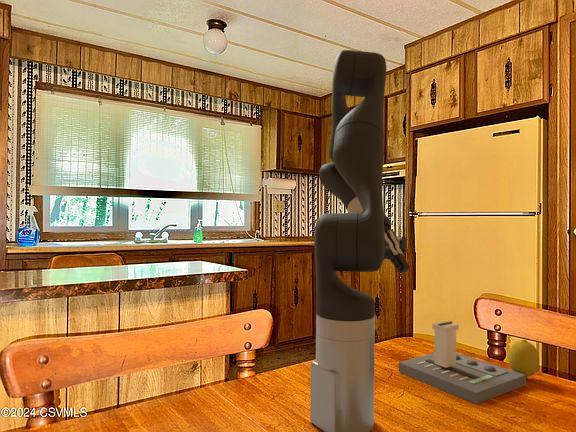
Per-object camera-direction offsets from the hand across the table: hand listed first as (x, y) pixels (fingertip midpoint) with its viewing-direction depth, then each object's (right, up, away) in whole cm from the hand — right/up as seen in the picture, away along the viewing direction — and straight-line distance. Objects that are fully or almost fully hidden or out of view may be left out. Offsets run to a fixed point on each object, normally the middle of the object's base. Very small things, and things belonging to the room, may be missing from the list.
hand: (405, 270), depth 96 cm
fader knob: (+6, -18, -9) cm, 21 cm away
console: (+8, -21, -10) cm, 24 cm away
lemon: (+21, -21, -10) cm, 31 cm away
